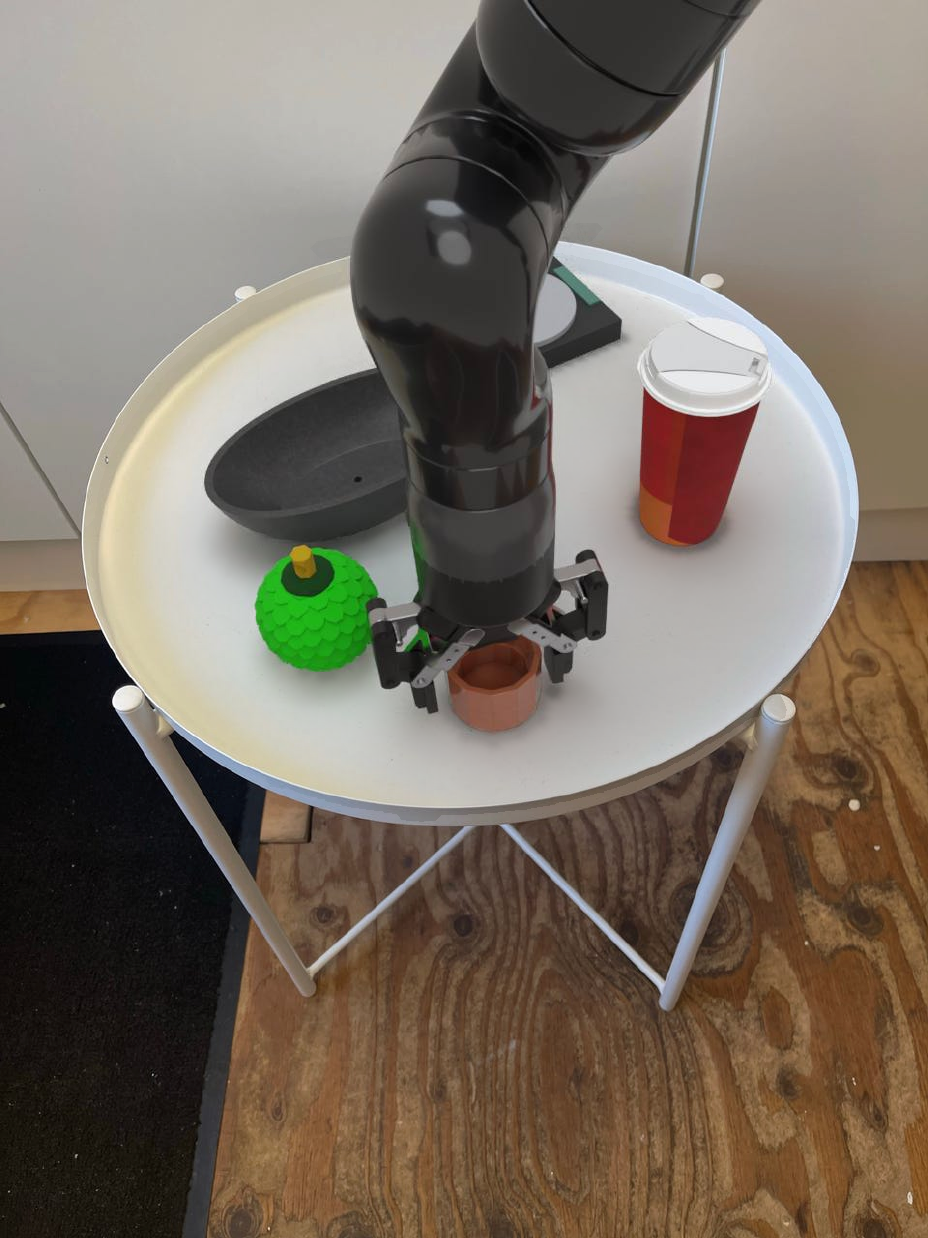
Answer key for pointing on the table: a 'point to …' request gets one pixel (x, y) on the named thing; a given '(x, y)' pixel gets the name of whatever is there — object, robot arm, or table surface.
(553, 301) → the scale
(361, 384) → the bowl
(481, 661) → the small bowl
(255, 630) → the table surface
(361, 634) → the ornament
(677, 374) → the coffee cup
